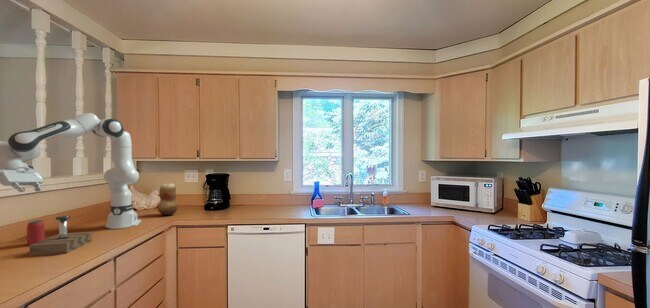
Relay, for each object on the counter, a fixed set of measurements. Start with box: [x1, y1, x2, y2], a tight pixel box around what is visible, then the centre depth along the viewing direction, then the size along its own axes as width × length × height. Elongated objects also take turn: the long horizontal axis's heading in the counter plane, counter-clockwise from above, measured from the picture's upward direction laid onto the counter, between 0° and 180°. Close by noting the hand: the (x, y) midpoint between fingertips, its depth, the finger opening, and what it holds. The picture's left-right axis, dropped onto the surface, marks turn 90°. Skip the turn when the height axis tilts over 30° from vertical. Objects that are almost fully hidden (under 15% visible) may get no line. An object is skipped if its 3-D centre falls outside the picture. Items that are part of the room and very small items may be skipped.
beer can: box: [26, 219, 46, 246], centre depth 150 cm, size 7×7×12 cm
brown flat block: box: [29, 231, 93, 257], centre depth 143 cm, size 20×15×5 cm
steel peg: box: [55, 215, 71, 239], centre depth 143 cm, size 6×6×16 cm
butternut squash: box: [157, 182, 179, 216], centre depth 220 cm, size 14×13×25 cm
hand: (31, 191), depth 141 cm, fingers open, 8 cm apart
